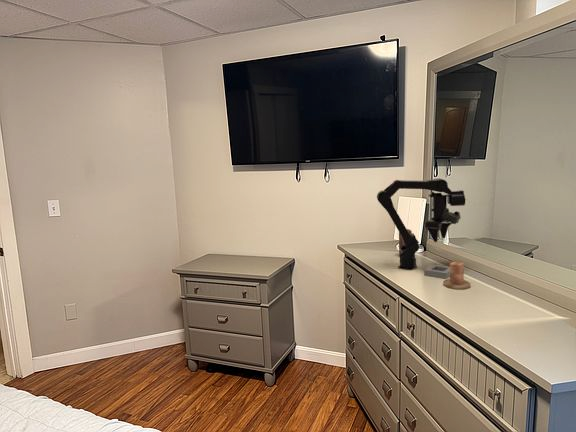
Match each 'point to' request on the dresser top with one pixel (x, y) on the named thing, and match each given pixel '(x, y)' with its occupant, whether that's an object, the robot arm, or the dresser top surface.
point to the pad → (454, 286)
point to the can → (402, 240)
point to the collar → (437, 271)
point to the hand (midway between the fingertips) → (439, 240)
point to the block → (456, 273)
